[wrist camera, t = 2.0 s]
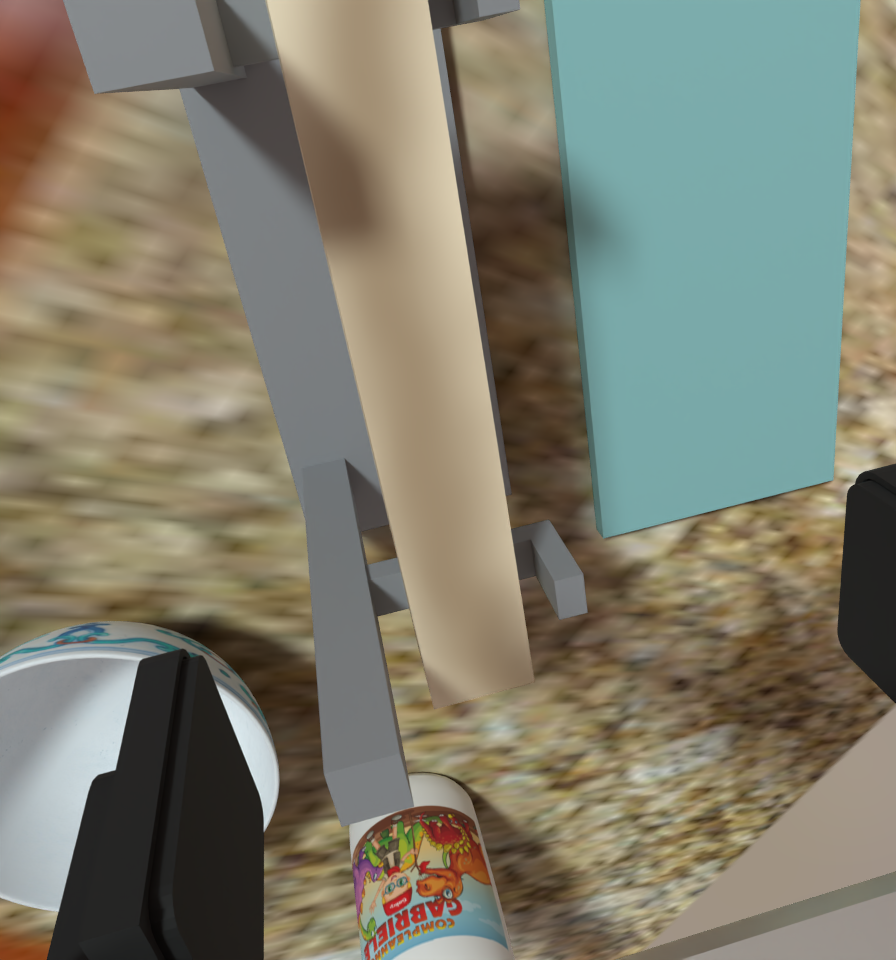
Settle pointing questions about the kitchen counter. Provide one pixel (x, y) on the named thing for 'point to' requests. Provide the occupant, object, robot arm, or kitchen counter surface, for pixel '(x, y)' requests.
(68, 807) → the chinaware
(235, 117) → the rack
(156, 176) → the kitchen counter surface
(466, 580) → the rail
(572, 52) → the mat
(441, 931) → the milk bottle
